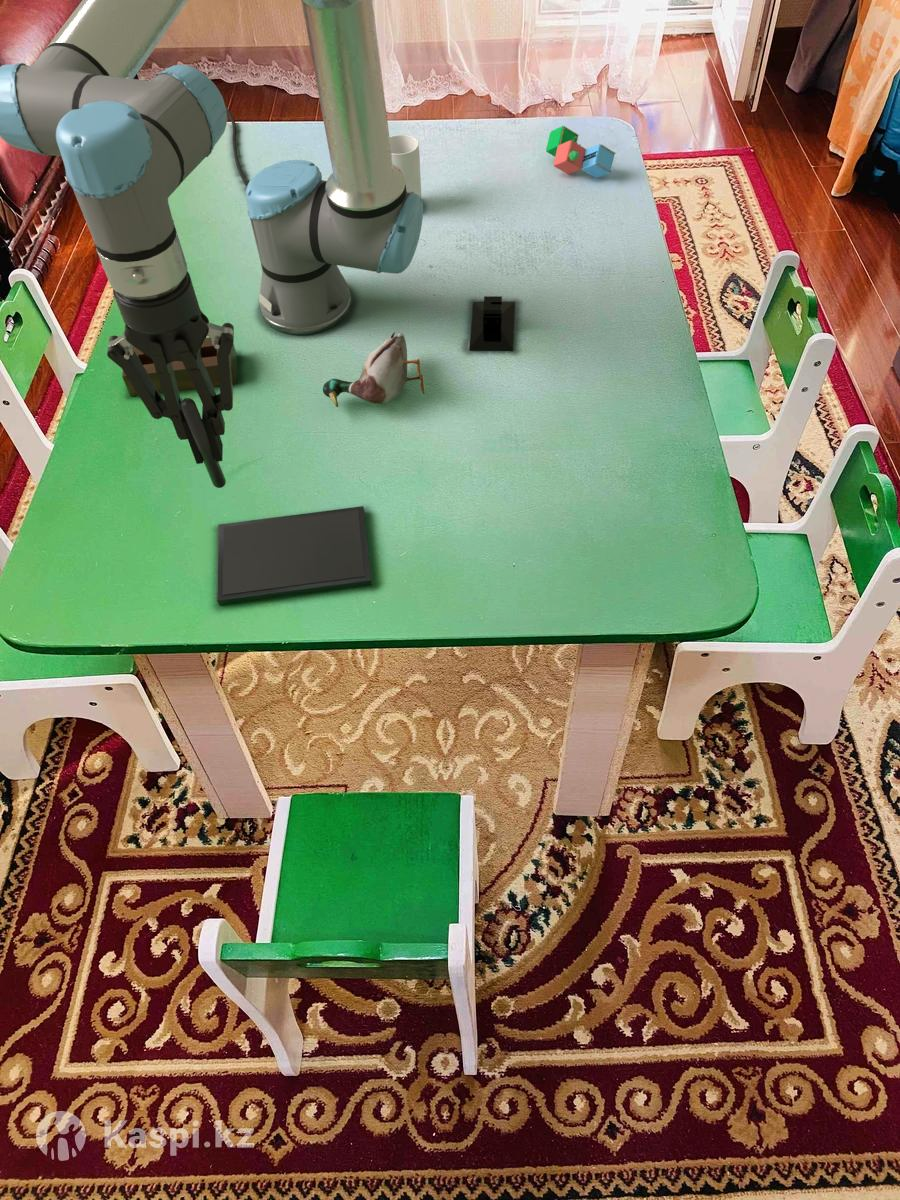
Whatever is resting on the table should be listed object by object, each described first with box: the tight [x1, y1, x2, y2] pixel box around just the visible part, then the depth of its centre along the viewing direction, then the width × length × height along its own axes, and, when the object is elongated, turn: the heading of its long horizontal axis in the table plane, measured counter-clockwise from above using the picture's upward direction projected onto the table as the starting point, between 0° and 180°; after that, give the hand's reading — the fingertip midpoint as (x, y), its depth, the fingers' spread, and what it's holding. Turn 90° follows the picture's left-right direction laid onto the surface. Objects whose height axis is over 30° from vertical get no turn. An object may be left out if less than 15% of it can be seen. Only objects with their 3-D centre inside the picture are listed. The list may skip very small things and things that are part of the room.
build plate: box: [467, 295, 516, 353], centre depth 148 cm, size 12×7×5 cm, turn 176°
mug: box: [389, 134, 422, 198], centre depth 166 cm, size 10×7×12 cm, turn 109°
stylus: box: [181, 397, 227, 489], centre depth 106 cm, size 2×2×16 cm
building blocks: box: [545, 125, 617, 179], centre depth 174 cm, size 8×8×12 cm
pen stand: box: [121, 337, 238, 397], centre depth 144 cm, size 7×17×4 cm, turn 98°
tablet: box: [216, 505, 373, 606], centre depth 123 cm, size 13×20×1 cm, turn 98°
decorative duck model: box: [322, 331, 425, 408], centre depth 140 cm, size 15×8×15 cm
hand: (209, 454), depth 108 cm, fingers closed on stylus, 1 cm apart
